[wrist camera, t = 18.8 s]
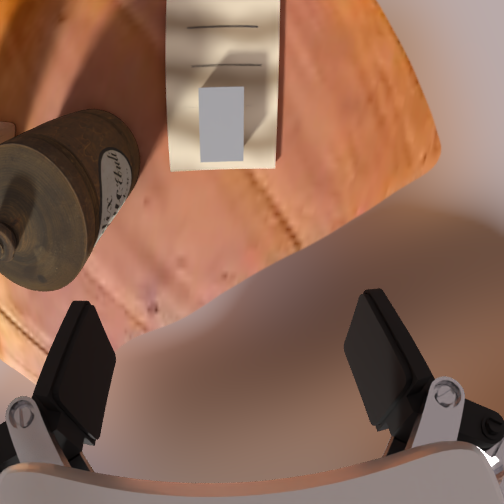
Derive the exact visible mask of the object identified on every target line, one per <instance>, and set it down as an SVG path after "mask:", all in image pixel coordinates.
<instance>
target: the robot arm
mask: <svg viewBox="0 0 504 504" xmlns="http://www.w3.org/2000/svg"><path fill="white" fill-rule="evenodd" d="M344 352H345V355H346V357H347V360H348V362H349V365H350V368H351V370H352V373H353V376H354V378H355V381H356V384H357V386H358V389H359V392H360V395H361V397H362V400H363V403H364V406H365V408H366V411H367V414H368V417H369V420H370V422H371V424H372V425H374V426H376V429H377V431H381V430H385V429H388V428H389V431H390V433H391V437H390V440H389V442H388V444H387V447H386V449H385V451H384V454H383V456H382V458H378V459H375V460H371V461H367V462H363V463H360V464H356V465H352V466H348V467H344V468H339V469H335V470H330V471H325V472H320V473H315V474H310V475H304V476H297V477H290V478H283V479H274V480H265V481H254V482H238V483H175V482H161V481H150V480H140V479H132V478H125V477H119V476H112V475H106V474H100V473H95V472H94V470H93V469H92V467H91V465H90V464H89V462H88V460H87V459H86V457H85V456H84V454H83V452H82V448H83V444H88V445H93V446H94V445H95V441H96V439H99V437H100V433H101V427H102V422H103V417H104V412H105V406H106V402H107V397H108V392H109V388H110V384H111V379H112V375H113V371H114V367H115V363H116V357H115V353H114V350H113V348H112V346H111V344H110V342H109V340H108V337H107V335H106V333H105V330H104V328H103V326H102V323H101V321H100V319H99V316H98V314H97V311H96V309H95V307H94V306H93V305H91V304H90V302H89V301H73V302H72V303H71V305H70V307H69V309H68V311H67V314H66V316H65V318H64V320H63V322H62V324H61V326H60V329H59V331H58V333H57V335H56V337H55V340H54V342H53V344H52V346H51V349H50V351H49V354H48V356H47V358H46V361H45V363H44V366H43V368H42V371H41V374H40V376H39V379H38V382H37V384H36V387H35V390H34V393H33V396H32V399H31V398H30V397H27V396H20V397H18V398H15V399H14V400H13V401H12V402H11V403H10V404H9V405H8V408H7V410H6V416H5V417H6V421H5V422H3V423H2V424H0V504H504V420H503V418H502V417H501V416H500V415H499V414H498V413H497V412H495V411H493V410H491V409H488V408H486V407H483V406H481V405H479V404H476V403H474V402H471V401H469V400H467V399H465V394H464V390H463V388H462V387H461V385H460V384H459V383H458V382H457V381H456V380H454V379H452V378H450V377H439V378H437V379H434V377H433V375H432V373H431V371H430V369H429V367H428V366H427V364H426V362H425V360H424V358H423V356H422V355H421V353H420V351H419V349H418V348H417V346H416V344H415V342H414V341H413V339H412V337H411V335H410V334H409V332H408V330H407V329H406V327H405V326H404V324H403V323H402V321H401V319H400V318H399V316H398V314H397V313H396V311H395V309H394V308H393V306H392V304H391V303H390V301H389V300H388V298H387V296H386V295H385V293H384V292H383V290H382V289H380V288H379V289H368V290H365V291H364V293H363V294H361V295H360V297H359V300H358V303H357V306H356V309H355V312H354V316H353V319H352V322H351V325H350V328H349V331H348V334H347V337H346V340H345V343H344Z"/></svg>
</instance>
